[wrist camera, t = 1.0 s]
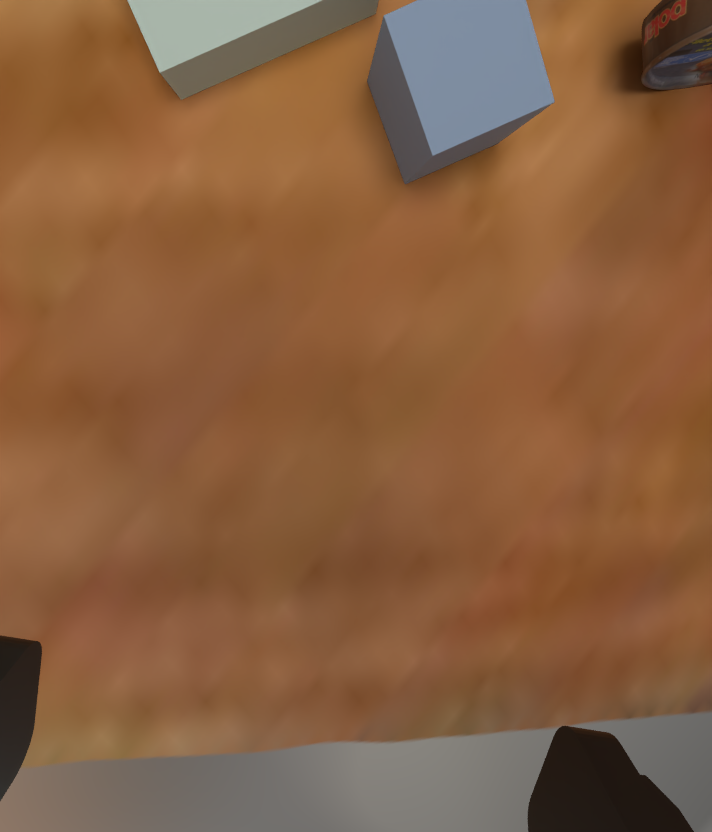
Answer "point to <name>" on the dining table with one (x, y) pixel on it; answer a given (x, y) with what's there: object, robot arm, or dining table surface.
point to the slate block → (455, 79)
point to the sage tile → (234, 34)
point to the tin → (677, 45)
